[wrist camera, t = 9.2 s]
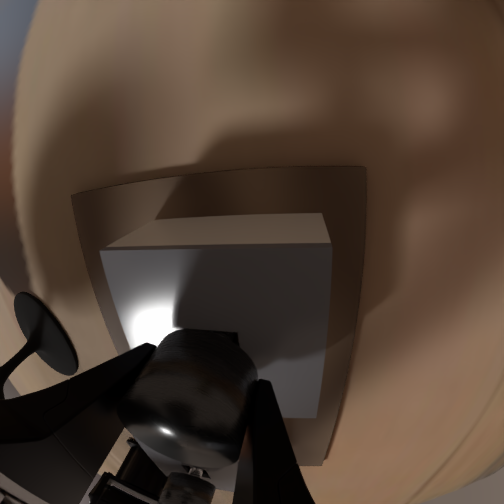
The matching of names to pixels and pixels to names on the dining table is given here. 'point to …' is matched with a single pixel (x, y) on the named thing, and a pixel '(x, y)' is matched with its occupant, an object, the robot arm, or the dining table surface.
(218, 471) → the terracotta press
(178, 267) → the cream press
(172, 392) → the black plunger
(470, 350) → the dining table surface
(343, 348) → the walnut board
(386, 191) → the dining table surface
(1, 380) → the wine glass
